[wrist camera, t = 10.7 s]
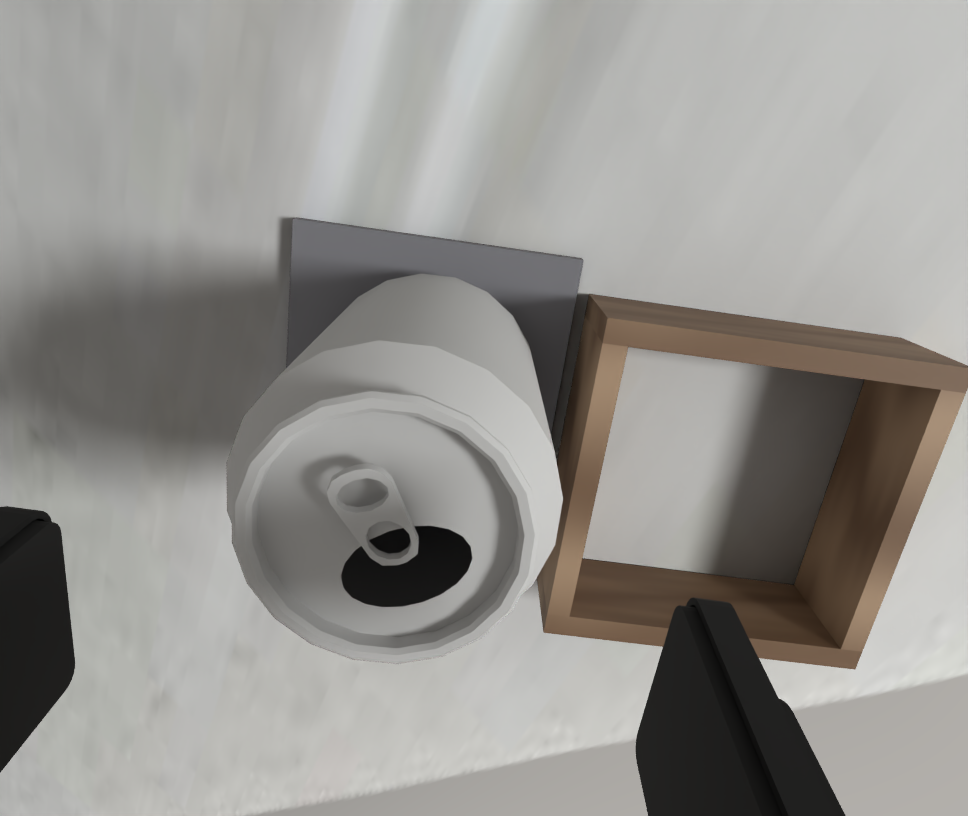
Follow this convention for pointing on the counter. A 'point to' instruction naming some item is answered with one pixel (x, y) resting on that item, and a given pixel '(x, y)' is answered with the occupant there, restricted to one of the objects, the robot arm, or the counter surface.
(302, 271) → the rubber mat
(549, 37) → the counter surface
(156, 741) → the counter surface
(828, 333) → the walnut box
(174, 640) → the counter surface
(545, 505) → the can
